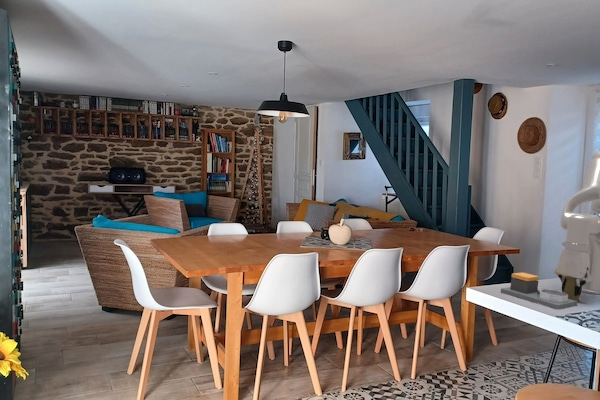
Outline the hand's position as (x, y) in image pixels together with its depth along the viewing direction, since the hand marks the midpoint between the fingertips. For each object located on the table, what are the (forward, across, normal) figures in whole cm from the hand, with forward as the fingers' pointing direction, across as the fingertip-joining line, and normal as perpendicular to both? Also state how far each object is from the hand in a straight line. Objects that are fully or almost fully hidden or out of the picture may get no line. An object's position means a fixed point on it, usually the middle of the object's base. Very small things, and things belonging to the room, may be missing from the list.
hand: (570, 293), depth 191 cm
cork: (+2, 0, 0) cm, 2 cm away
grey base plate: (+2, -6, -12) cm, 14 cm away
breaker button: (-1, -12, -12) cm, 17 cm away
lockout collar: (+1, 0, -12) cm, 12 cm away
